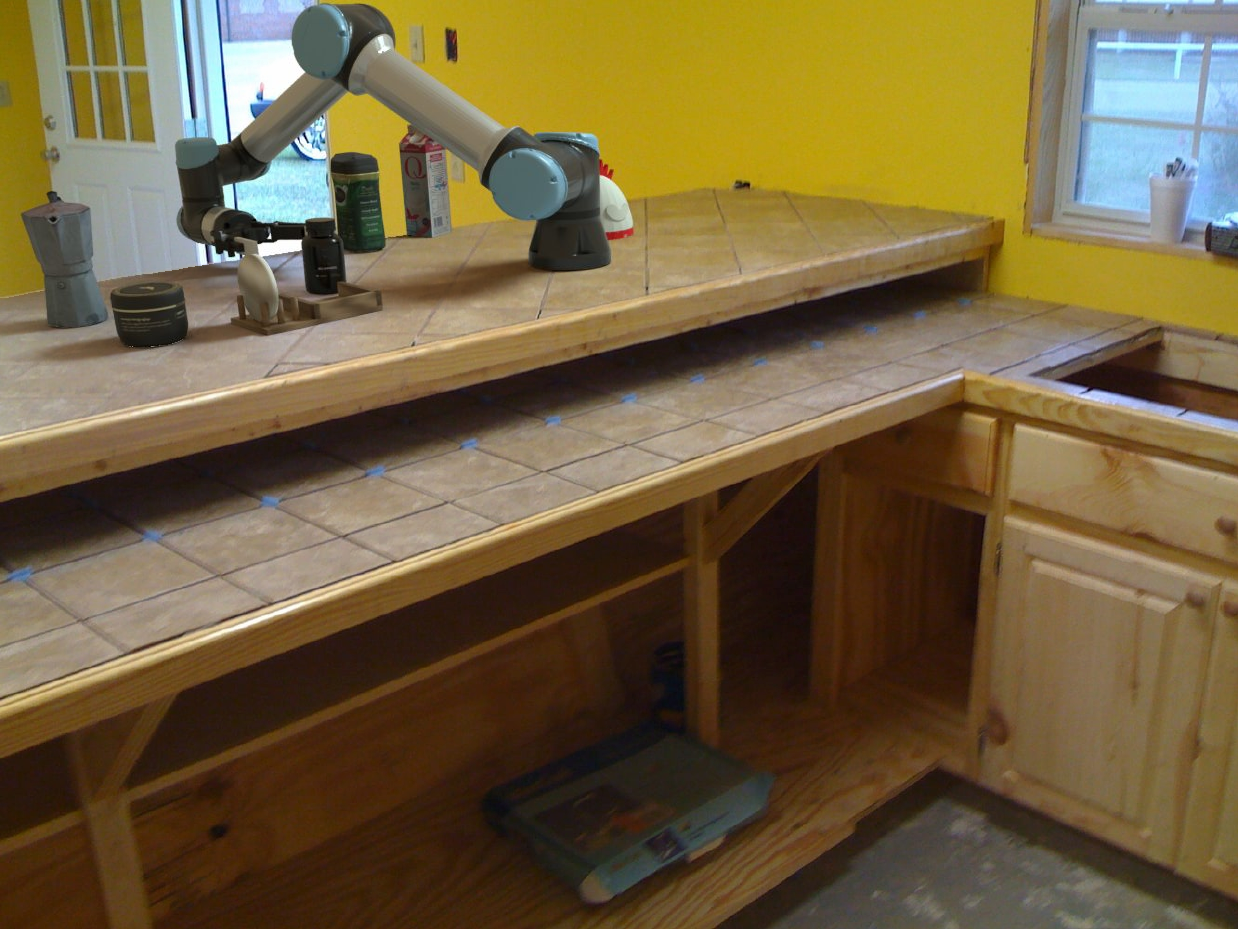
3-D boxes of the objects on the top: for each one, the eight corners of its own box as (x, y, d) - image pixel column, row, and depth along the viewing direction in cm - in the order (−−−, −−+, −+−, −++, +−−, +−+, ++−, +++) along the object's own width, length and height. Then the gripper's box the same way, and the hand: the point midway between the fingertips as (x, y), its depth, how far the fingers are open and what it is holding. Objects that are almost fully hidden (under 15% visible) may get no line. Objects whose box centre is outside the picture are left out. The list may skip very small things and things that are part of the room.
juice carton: (432, 237, 244) (423, 126, 236) (406, 235, 247) (397, 125, 239) (451, 232, 249) (444, 123, 241) (426, 230, 252) (417, 122, 244)
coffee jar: (393, 249, 233) (384, 152, 226) (356, 255, 228) (346, 156, 222) (368, 243, 240) (359, 148, 233) (332, 248, 235) (322, 152, 228)
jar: (138, 331, 178) (129, 280, 175) (202, 331, 177) (194, 280, 174) (105, 349, 168) (95, 296, 166) (173, 349, 167) (164, 296, 165)
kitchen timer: (552, 235, 244) (548, 160, 239) (601, 226, 253) (599, 153, 247) (597, 243, 235) (594, 165, 229) (647, 233, 243) (646, 158, 238)
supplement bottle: (327, 297, 195) (318, 224, 191) (297, 293, 199) (288, 221, 195) (356, 289, 201) (349, 217, 197) (327, 285, 204) (319, 214, 200)
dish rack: (344, 299, 194) (337, 233, 190) (382, 310, 186) (376, 241, 183) (231, 323, 181) (221, 252, 177) (267, 335, 173) (258, 261, 170)
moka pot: (42, 336, 176) (14, 199, 169) (44, 313, 189) (18, 185, 182) (111, 328, 180) (87, 193, 172) (108, 306, 193) (85, 181, 185)
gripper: (294, 240, 228) (356, 254, 213) (170, 260, 211) (228, 277, 197) (289, 200, 225) (352, 212, 211) (163, 218, 209) (221, 232, 194)
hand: (292, 243), depth 204 cm, fingers open, 13 cm apart
